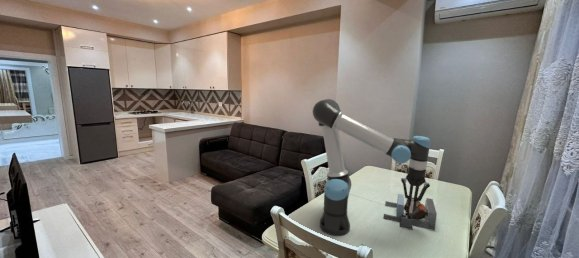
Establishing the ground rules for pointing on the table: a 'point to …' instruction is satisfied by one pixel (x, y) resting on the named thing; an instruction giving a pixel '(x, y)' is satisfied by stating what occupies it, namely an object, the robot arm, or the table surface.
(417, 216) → the rock
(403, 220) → the vise frame
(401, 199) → the vise jaw
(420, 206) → the lever
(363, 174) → the table surface
